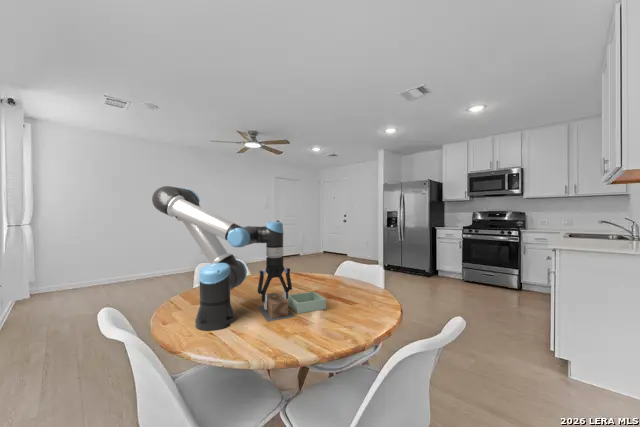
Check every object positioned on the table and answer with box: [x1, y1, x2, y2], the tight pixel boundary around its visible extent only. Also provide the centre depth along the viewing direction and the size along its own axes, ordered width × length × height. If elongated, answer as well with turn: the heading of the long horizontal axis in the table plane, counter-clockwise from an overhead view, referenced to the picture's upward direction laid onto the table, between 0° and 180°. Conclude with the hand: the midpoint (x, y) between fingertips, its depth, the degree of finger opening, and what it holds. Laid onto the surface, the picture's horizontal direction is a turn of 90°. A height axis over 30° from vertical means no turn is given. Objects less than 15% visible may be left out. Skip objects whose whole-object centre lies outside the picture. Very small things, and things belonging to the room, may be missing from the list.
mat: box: [256, 305, 296, 323], centre depth 122 cm, size 12×20×1 cm, turn 25°
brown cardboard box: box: [262, 292, 289, 319], centre depth 122 cm, size 7×16×7 cm, turn 25°
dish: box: [286, 291, 327, 315], centre depth 129 cm, size 14×14×5 cm
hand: (275, 307), depth 122 cm, fingers open, 8 cm apart
